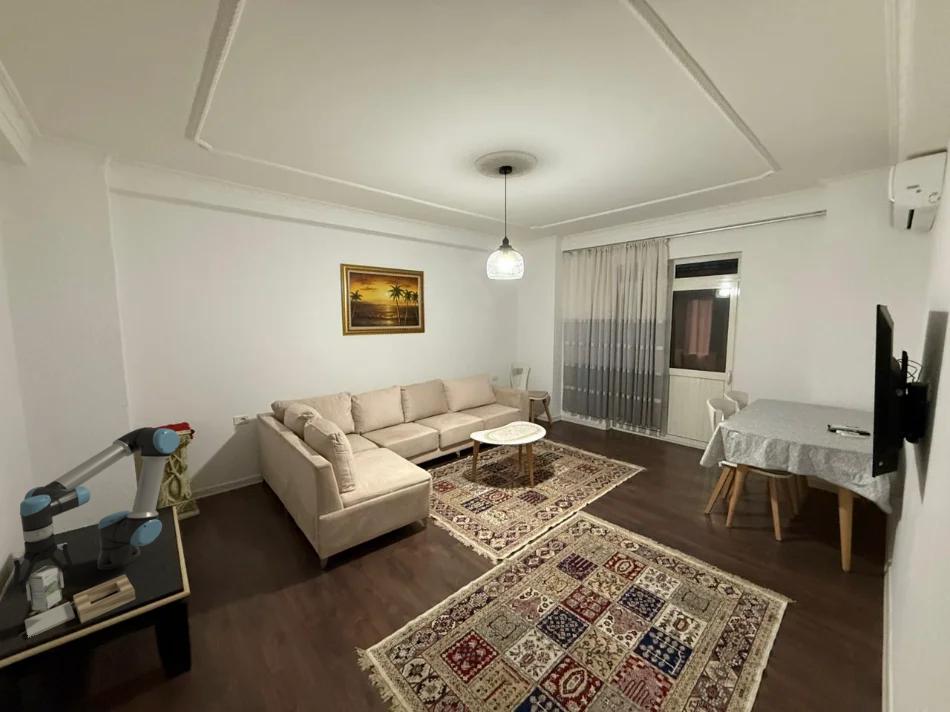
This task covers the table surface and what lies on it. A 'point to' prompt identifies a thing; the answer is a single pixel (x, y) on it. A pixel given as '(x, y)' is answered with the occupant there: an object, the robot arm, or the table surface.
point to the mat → (49, 619)
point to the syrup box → (45, 588)
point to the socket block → (104, 605)
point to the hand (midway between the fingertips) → (46, 592)
